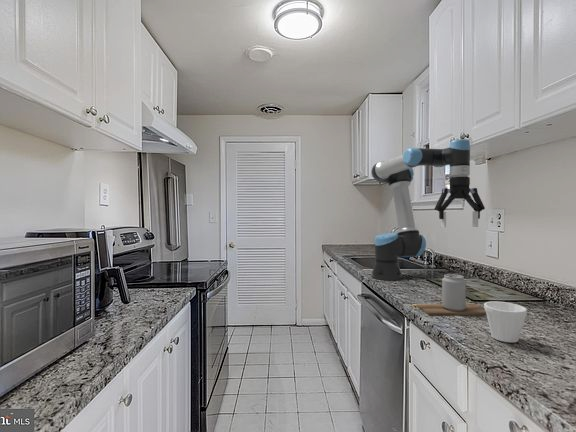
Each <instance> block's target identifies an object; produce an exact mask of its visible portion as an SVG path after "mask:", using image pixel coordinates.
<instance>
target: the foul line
mask: <svg viewBox="0 0 576 432" xmlns="http://www.w3.org/2000/svg"><path fill="white" fill-rule="evenodd" d="M418 304H419V303H414V304H413V303H412V304H411V306H412V307H417V305H418ZM466 304H476V303H469V302H468V303H467V302H466Z"/></svg>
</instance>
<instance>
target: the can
mask: <svg viewBox="0 0 576 432" xmlns="http://www.w3.org/2000/svg"><path fill="white" fill-rule="evenodd" d="M443 276H444V277H443V278H442V279H441V304H442V306H443V307H444V308H445V309H447V310H451V311H463V310H464V309H465V308H466V303H467V297H466V296H467V295H466V294H467V292H466V291H467V289H466V288H467V285H466V284H467V281H466V279H465V276H463V275H461V274H456V273H455V274H454V273H447V274H444V275H443Z"/></svg>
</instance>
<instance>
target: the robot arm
mask: <svg viewBox="0 0 576 432" xmlns="http://www.w3.org/2000/svg"><path fill="white" fill-rule="evenodd" d="M420 166H422V167H423V166H425V167H427V166H428V167H435V168H443V167H445V166H449V177H450V178H449V188H447V187H444V188H442V190H441V194H440V197H439V198H438V199H437V203H436V205H435V207H434V211H438V217H439V220H440V227H441V228H446V227H447V211H445V210H446V209H447V208H448V207H449V206H450V204H452V202H453V201H454V200H458V199H460V200H465V201H466V202H467V204H469V206H470V207H471V208H472V209H473V210H474V211H472V227H473V228H475V227H476V228H478V227H479V220H480V218H481V212H482V211H484V210H485V209H486V207H485V205H484V203H483V201H482V199H481V197H480V195H479V193H478V192H479V191H478V188H477V187H473V188H471V187H470V184H471V181H470V180H471V177H470V175H471V174H470V170H471V169H470V168H471V167H470V166H471V144H470V140H469V139H466V138H461V139H453V140H451V141H450V142H449V147H445V148H422V147H420V148H419V147H412V148H411V147H410V148H407V149H406V150H405V151H404V152H403V154H400V155H398V156H396V157H394V158H391V159H388V160H386V161H384V160H383V161H379V162H376V163H375V164H374V165H373V166H372V167H371V176H372V178H373V179H374V180H375V181H377V182H378V183H380V184H381V183H382V184H388V187H389V189H391V191H392V195H393V203H394V208H395V213H396V214H395V215H396V220H397V227H398V231H397V232H390V233H388V232H387V233H386V232H385V233H380V234H378V235H376V236H375V237H374V238H375V240H374V260H375V261H374V265H373V268H372V272H371V277H372V279H375V280H380V281H398V280H401V279H402V275H403V274H402V271H401V269H400V265H399V258H414V257H421V256H422V255H423V254H424V253H425V251H426V248H427V240H426V238H425V237H424V235H423V234H422V235H421V234H420V230H418V229H417V228H416V224H415V218H414V212H413V206H412V202H411V201H412V200H411V194H410V189H409V188H410V185H411V182H412V181H413V180H414V173H415V172H414V170H413V168H416V167H420ZM448 194H450V195H449V196H448ZM470 194H471V195H470ZM447 196H448V197H447ZM446 198H447V199H446Z"/></svg>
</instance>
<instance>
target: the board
mask: <svg viewBox="0 0 576 432" xmlns="http://www.w3.org/2000/svg"><path fill="white" fill-rule="evenodd" d="M417 304H418V305H417V306H416V307H417V308H418V309H419V310H421V311H422V312H424V313H425V314H426V315H427V316H430V317H431V316H432V317H433V316H437V317H438V316H487V314H486V311H485V309H484V306H481V305H479V304H476V303H475V304H466V308H465V309H464V310H463V311H451V310H447V309H445V308H444V307H443V306H442V303H417Z"/></svg>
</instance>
